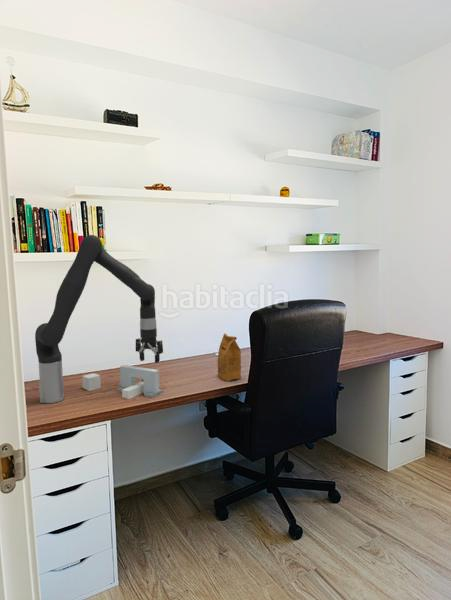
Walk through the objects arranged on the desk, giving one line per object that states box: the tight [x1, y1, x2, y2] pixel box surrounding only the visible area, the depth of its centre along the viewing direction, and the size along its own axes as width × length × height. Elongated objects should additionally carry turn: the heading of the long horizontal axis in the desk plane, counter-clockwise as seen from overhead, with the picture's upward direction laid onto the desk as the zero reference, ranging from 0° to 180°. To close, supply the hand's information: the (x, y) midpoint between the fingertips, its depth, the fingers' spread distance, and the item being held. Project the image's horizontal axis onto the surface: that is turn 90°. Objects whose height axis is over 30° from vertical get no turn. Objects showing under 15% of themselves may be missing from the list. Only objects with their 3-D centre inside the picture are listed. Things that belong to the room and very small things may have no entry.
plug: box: [121, 378, 144, 400], centre depth 190 cm, size 19×4×4 cm, turn 152°
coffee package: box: [217, 333, 242, 382], centre depth 210 cm, size 10×12×22 cm
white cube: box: [81, 373, 102, 392], centre depth 197 cm, size 6×6×6 cm
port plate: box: [116, 364, 164, 399], centre depth 190 cm, size 8×20×11 cm, turn 62°
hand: (149, 361), depth 196 cm, fingers open, 8 cm apart
